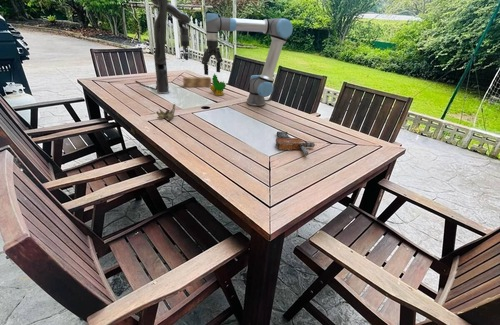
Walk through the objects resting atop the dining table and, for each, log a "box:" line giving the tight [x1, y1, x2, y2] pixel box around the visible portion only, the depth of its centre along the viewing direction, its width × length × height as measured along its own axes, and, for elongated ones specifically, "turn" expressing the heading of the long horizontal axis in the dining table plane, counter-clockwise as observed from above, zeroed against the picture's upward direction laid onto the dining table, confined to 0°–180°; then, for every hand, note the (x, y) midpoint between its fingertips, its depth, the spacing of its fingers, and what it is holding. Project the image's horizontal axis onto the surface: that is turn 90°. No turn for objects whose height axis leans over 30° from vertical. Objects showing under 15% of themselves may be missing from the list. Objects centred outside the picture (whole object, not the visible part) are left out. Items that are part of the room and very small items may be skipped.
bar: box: [182, 76, 212, 88], centre depth 256 cm, size 26×6×8 cm, turn 111°
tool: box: [275, 131, 316, 157], centre depth 149 cm, size 4×27×30 cm
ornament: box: [209, 73, 227, 96], centre depth 234 cm, size 21×8×15 cm, turn 42°
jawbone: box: [156, 103, 176, 122], centre depth 174 cm, size 9×15×10 cm
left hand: (185, 59), depth 242 cm, fingers open, 8 cm apart
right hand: (212, 73), depth 183 cm, fingers open, 13 cm apart
